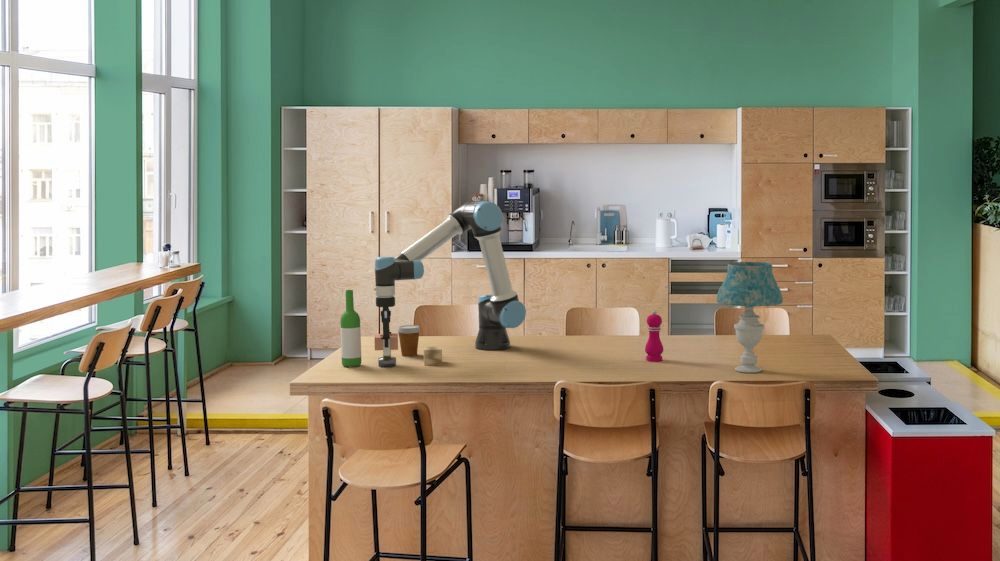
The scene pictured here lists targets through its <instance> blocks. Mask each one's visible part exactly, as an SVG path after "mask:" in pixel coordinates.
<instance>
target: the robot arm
mask: <svg viewBox="0 0 1000 561" xmlns="http://www.w3.org/2000/svg"><path fill="white" fill-rule="evenodd" d="M503 218H504V217H503V212H502V209H501V208H500V206H499V205H497V204H496V203H495V202H491V201H488V200H470V201H467V202H465V203H464V204H462V205H460V206H459V207H458V208H456V209H454V210H453V211H452V212H450V213H449V214H448V215H447V216H446V219H445V220H444V221H442V222H441V223H440V224H438V225H436V227H434V228H433V229H432V230H429V232H427V233H426V234H425V235H423V236H422V237H420V238H419V239H418V240H417V241H415V242H414V243H412V244H411V245H410V246H408V247H407V248H405V249H404V250H403V251H402V252H400V253H399V254H397V255H396V256H395V257H394V256H377V257H376V258H375V260H374V276H375V281H374V282H375V287H374V288H373V291H375V296H376V297H375V306H376V307H377V308H382V310H380V317H381V318H380V320H381V323H382V334H383V337H381V339H383V350H382V357H383V356H390V339H389V338H390V336H389V334H392V332H391V330H390V322H391V316H392V310H390V308H391V307H392V308H393V307H395V306H396V297H395V295H396V283H395V282H396V281H404V280H405V281H409V280H412V281H413V280H414V281H415V280H419V279H422V278H423V277H424V275H425V267H424V264H423V262H422V260H424V259H426V258H427V257H429V255H431V254H432V253H434V252H436V250H438V249H439V248H441V247H442V246H443V245H445V244H446V243H447V242H448V241H450V240H451V239H452V238H454V237H456V236H457V235H463V234H464V233H466V232H467V231H470V230H472V234H473V237H474V238H475V239H477V241H478V242H479V247H480V250H481V254H482V259H483V263H484V266H485V267H484V268H485V271H486V275H487V278H488V283H489V286H490V290H491V294H483V295H480V296H478V302H477V303H478V304H477V306H478V307H477V308H478V331H477V332H478V333H477V335H476V338H475V342H474V346H475V347H474V348H475V349H477V350H482V351H483V350H484V351H498V350H506V349H509V348H511V341H510V337H509V334H508V331H507V329H516V328H518V327H520V326H521V325H522V324H523V322H524V320H525V319H526V316H527V308H526V307H525V305H524V304H523V302H522V301H520V300H519V296H518V293H517V291H516V290H514V289H513V286H512V283H511V279H510V278H511V277H510V275H509V271H508V267H507V263H506V258H505V255H504V250H503V246H502V242H501V239H500V234H501V232H502V227H501V225H502V222H503V221H504V220H503Z"/></svg>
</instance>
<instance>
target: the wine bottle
mask: <svg viewBox="0 0 1000 561" xmlns="http://www.w3.org/2000/svg"><path fill="white" fill-rule="evenodd" d="M354 307H355V305H354V290H353V289H346V290H345V311H344V312H342V315H341V316H340V318H339V319H340V350H341V352H340V354H341V365H342V366H343V367H345V366H347V367H346V368H355V367H354V366H356V367H359V366H361V365H362V338H361V336H362V334H361V330H362V329H361V318H360V317H361V316H360V315H359V314H358V312H357V311H355V308H354Z"/></svg>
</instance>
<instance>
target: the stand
mask: <svg viewBox="0 0 1000 561" xmlns="http://www.w3.org/2000/svg"><path fill="white" fill-rule="evenodd" d="M423 364H424V366H435V365H437V366H438V365H439V364H442V365H443V349H442V346H423Z"/></svg>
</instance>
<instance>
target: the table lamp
mask: <svg viewBox="0 0 1000 561" xmlns="http://www.w3.org/2000/svg"><path fill="white" fill-rule="evenodd" d="M726 270H727V271H726V275H725V277H724V278H723V281H722V284H721V285H720V287H719V288H718V292H717V296H716V302H717V303H718V304H720V305H724V306H725V305H726V306H735V307H744V312H743V313H742V314H740V315H738V318H739V319H740V320H739V321H738V322H737V323H735V324H734V325H733V329H735V336H736V337H735V338H736V340H737V342H738V343H739V344H740V345H741V346H742V347H743V348H744V351H743V352H742V354H741V355H740V356H739V362H740V364H742V365H738V366H736V367H735V368H734V369H735V371H737V372H739V373H744V374H745V373H746V374H757V373H760V372H762V371H763V368H762V367H760V366H759V365H758V366H757V365H756V364H758V355H755V351H753V350H754V348H755V347H756V346H757V345H758V344H759V343H760V342H761V341H762V337H763V331H764V330H765V325H764V324H763V323H760V321H759V319H760V315H758V314H756V312H755V311H754V309H755V307H769V306H770V307H771V306H778V305H781V304H783V302H784V300H783V294H782V291H781V289H780V287H779V286H778V283H777V281H776V279H775V277H774V273H773V264H772V263H770V262H761V261H737V262H736V261H735V262H729V263H727V269H726Z"/></svg>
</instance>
